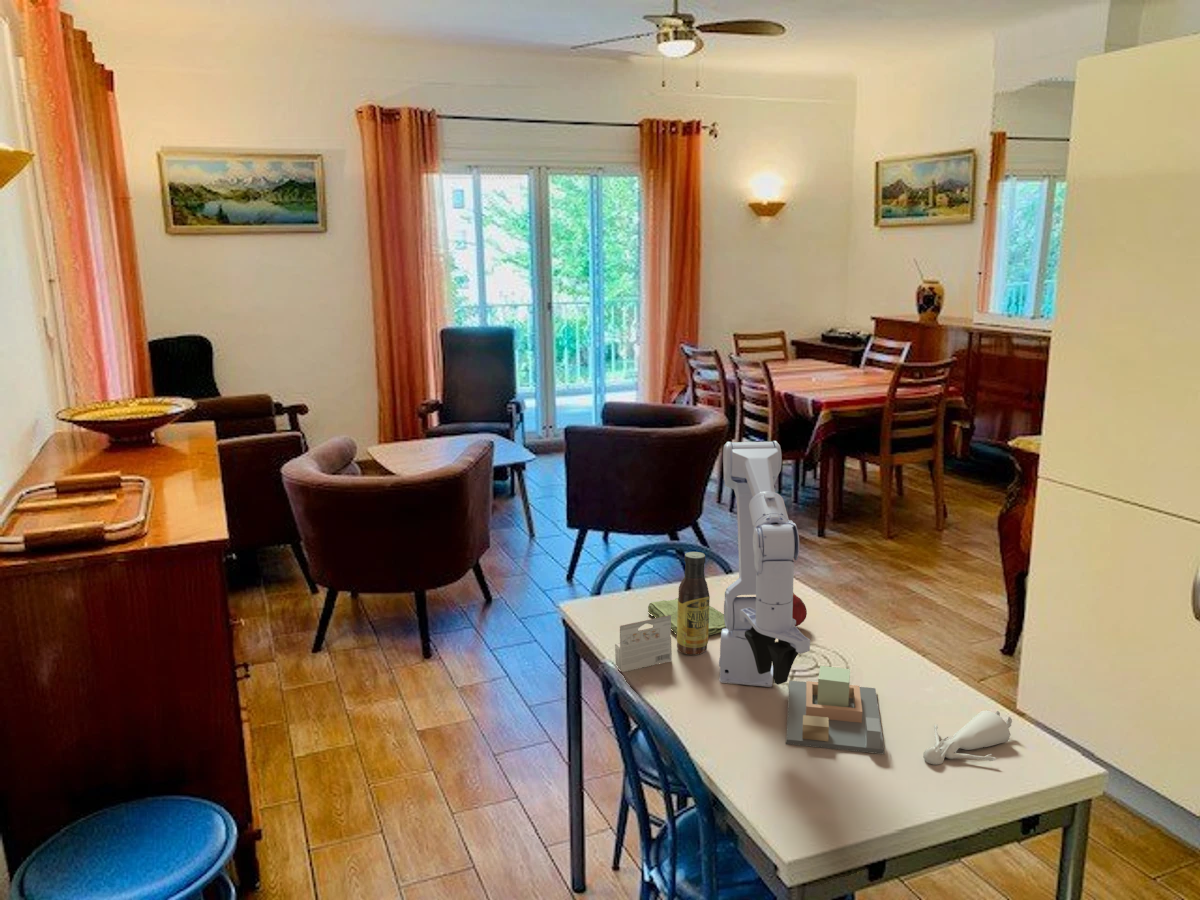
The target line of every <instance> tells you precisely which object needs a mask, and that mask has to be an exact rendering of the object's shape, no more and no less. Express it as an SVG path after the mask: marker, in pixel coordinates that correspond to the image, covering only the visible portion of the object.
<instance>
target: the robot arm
mask: <svg viewBox="0 0 1200 900" xmlns="http://www.w3.org/2000/svg"><path fill="white" fill-rule="evenodd" d="M782 455H783V454H782V449H781V445H780V444H779V443H778V441H777V440H772V441H746V442H745V441H743V442H741V441H739V442H738V441H737V442H733V441H726V443H725V444H723V450H722V463H723V465H722V466H723V468H722V469H723V481H724V486H725V487H727V488H730V489H732V490H733V491H734V496H735V498H736V511H737V512H736V513H737V542H738V543H737V545H738V546H737V547H738V548H737V549H738V575H739V576H738V578H737V579H736V580H735V581H733V583H731V584H730V585H729V586H727V587H726V589H725V591H724V601H723V602H724V603H723V614H724V621H725V627H726V628H727V629H722V632H720V644H719V647H720V648H719V651H720V652H719V661H718V666H719V682H720V683H722V684H734V685H743V686H745V685H746V686H755V687H756V686H757V687H768V688H771V687H772V686H773V682H774V684H775V685H778V686H779V685H782V684H784V683H787V682H788V679H789V675H790V672H791V669H792V666H793V664H794V662H795V660H796V658H797V656H798V655H799V654H800V655H801V654H805V653H807V652H810V649H811V639H810V638H808V637H807V636H805V635H804V634H803V633H802V632H801V630H800V629H799V628H798V626H795V625H796V620H795V619H793V618H792V614H793V592H794V580H795V579H794V573H795V571H794V570H795V569H794V568H795V561H797V560H798V558H799V555H800V537H799V530H798V527H797V524H796V523H795V522H793V520H791V519H789V515H788V512H787V509H786V505H785V500H784V497H782V496H781V494H779V493H777V492H775V483H776V481H777V480H778V477H779V474H780V472H781V470H782V463H783V459H782V457H783V456H782ZM750 595H751V596H750ZM752 595H753V596H752ZM776 640H777V641H776Z"/></svg>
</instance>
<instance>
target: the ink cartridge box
mask: <svg viewBox="0 0 1200 900" xmlns="http://www.w3.org/2000/svg"><path fill="white" fill-rule="evenodd" d="M647 624H648V625H651V626H652V627H651V628H645V629H640V628H641V627H642V626H644V625H647ZM639 629H640V630H639ZM671 632H672V631H671V615H669V616H664V617H659V618H651V619H646V620H645V619H644V620H641V621H636V622H632V623H627V624H622V625H619V643H617V642H616V643H614V652H615V666H616V665H617V666H618V668H619V669H620V670H621V671H622V673H625V672H629V671H635V670H638V668H639V669H643V668H642V667H644V668H647V667H646V666H648V667H651V665H652V666H656V665H655V664H657V665H660V664H659V663H661V664H665V663H664V662H666V663H669V662H672V661H673V660H672V659H673V657H672V656H673V655H672V637H671ZM634 669H635V670H634Z"/></svg>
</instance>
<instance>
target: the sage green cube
mask: <svg viewBox="0 0 1200 900" xmlns="http://www.w3.org/2000/svg"><path fill="white" fill-rule="evenodd" d="M850 678H851V668H843V667H837V666H836V667H835V666H825V665H819V673H818V679H817V682H818V700H817V705H828V706H838V707H848V704H849V685H851V684H850V683H851V681H850V680H851V679H850Z"/></svg>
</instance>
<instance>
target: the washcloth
mask: <svg viewBox="0 0 1200 900" xmlns="http://www.w3.org/2000/svg"><path fill="white" fill-rule="evenodd" d="M647 609H648V610H647V613H648V612H649V613H650V614H652V615H653V616H654V617H656V618H659V617H664V616H669V615H671V629H672V630H673V631H674V632H675V633H676V634H675V633H674V632H673V633H674V634H675V635H677V612H678V597H677V598H675V599H670V600H657V601H651V602H650V603H649V604H648V606H647ZM649 613H648V614H649ZM650 614H649V615H650ZM654 617H653V618H654ZM722 629H727V628H726V627H725V621H724V613H722V611H719V610H718V609H716V608H715V607H713V606H711V605H709V629H708V637H709V636H712V635H715V634H716V635H717V634H719V633H721V632H722Z"/></svg>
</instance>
